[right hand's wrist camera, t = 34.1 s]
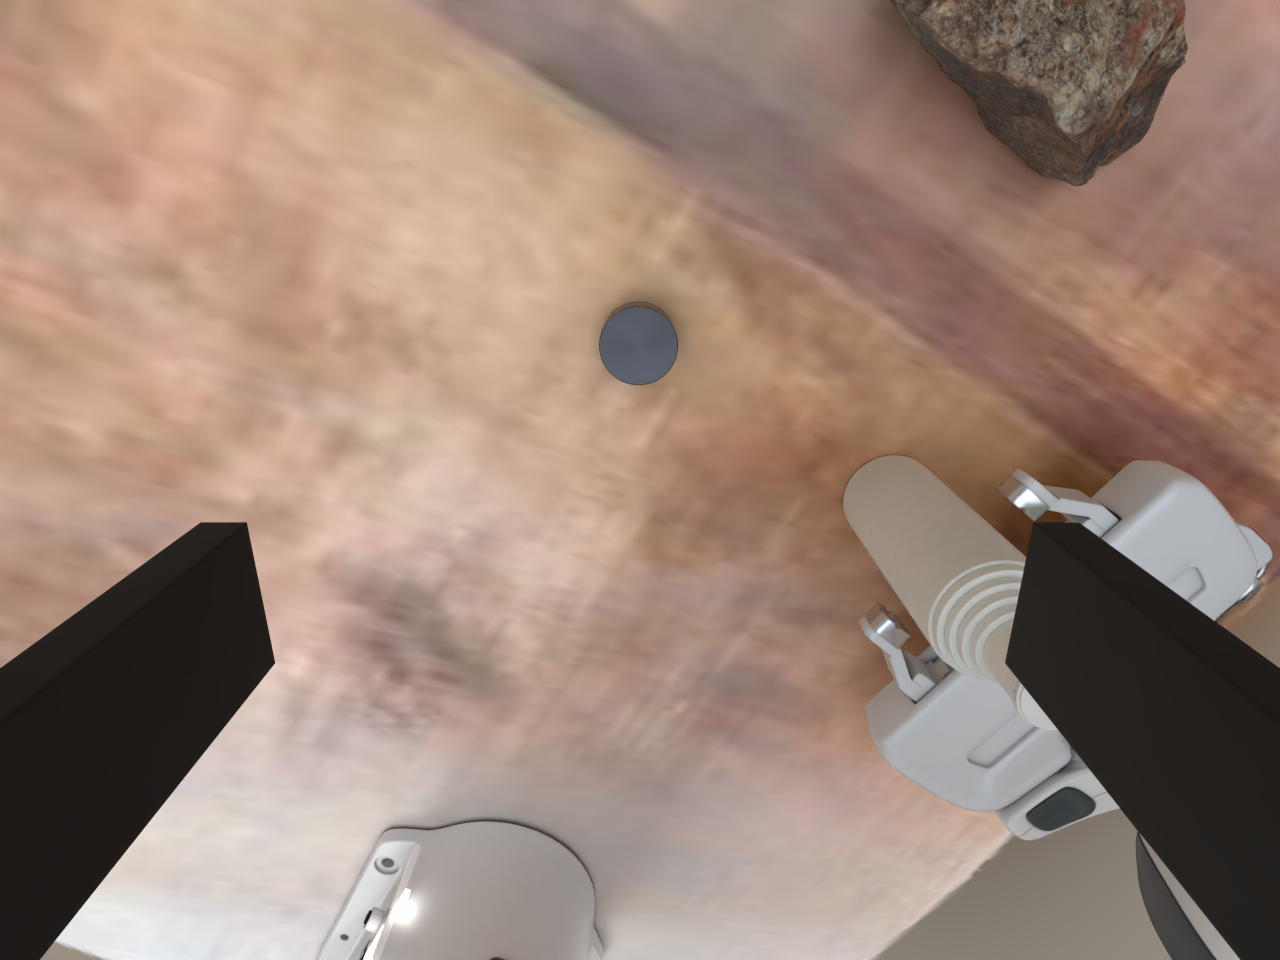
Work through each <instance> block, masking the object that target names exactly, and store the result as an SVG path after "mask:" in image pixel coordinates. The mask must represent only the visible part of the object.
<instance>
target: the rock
mask: <svg viewBox="0 0 1280 960" xmlns="http://www.w3.org/2000/svg"><path fill="white" fill-rule="evenodd" d="M890 1H891V2H892V3H893V5H894V6H895V7H896V8H897V10H898V11H899V13H900V14H901V16H902V17H903V19H904V20H905V21H906V23H907V25H908V28H909V29H910V31H911V33H912V34H913V35H914V36H915V37H917V38H918V39H919V41H920V42H921V44H922V45H923V47H924V48H925V50H926V51H927V52H929V53H930V54H931V55H932V56H933V58H934V59H935V60H936V61H937V63H938V65H939V67H940V69H941V71H943V72H944V73H945V74H947V76H948V77H949V79H950V80H951V81H953V82H955V83H956V84H958V85H959V86H960V87H962V88H963V89H964V90H965V91H966V93H967V94H968V95H969V96H970V97H971V98H973V99H974V100H975V101H976V102H977V105H978V106H979V115H980V116H981V117H982V120H983V123H984V125H985V127H986V129H987V130H988V131H989V132H991V133H992V134H993V135H994V136H995V137H996V138H998V139H999V140H1000V141H1002V142H1003V143H1005V144H1006V145H1007V146H1008V147H1010V148H1011V149H1012V150H1013V151H1014V152H1015V153H1017V154H1018V155H1020V156H1021V157H1022V158H1023V159H1024V160H1025V162H1026V164H1027V165H1029V166H1030V167H1031V168H1032V169H1034V170H1035V171H1036V172H1037V173H1039V174H1040V175H1041V176H1044V177H1048V178H1053V179H1057V180H1061V181H1065V182H1068V183H1070V184H1071V185H1073V186H1081V185H1083V184H1086V183H1087V182H1088V180H1089V179H1091V178H1092V177H1093V176H1094V174H1095V171H1096V169H1097V167H1099V166H1104V165H1109V164H1110V163H1111V162H1112V161H1113V160H1115V159H1116V158H1117V157H1119V156H1120V155H1121V154H1123V153H1124V152H1126V151H1127V150H1128V149H1130V148H1131V147H1133V146H1134V145H1136V144H1137V143H1139V142H1140V141H1141V140H1142V139H1143V137H1144V136H1145V134H1146V133H1147V131H1148V130H1149V128H1150V126H1151V124H1152V121H1153V119H1154V114H1155V112H1156V109H1157V107H1158V105H1159V102H1160V100H1161V99H1162V97H1163V95H1164V91H1165V89H1166V87H1167V85H1168V83H1169V80H1170V78H1171V77H1172V75H1173V74H1174V73H1175V72H1176V70H1177V69H1178V68H1180V67H1181V66H1182V65H1183V64H1184V63H1185V59H1184V58H1185V56H1184V55H1185V54H1186V52H1187V50H1188V47H1187V42H1185V41H1186V39H1185V33H1184V27H1183V25H1184V18H1185V9H1186V8H1185V0H890Z"/></svg>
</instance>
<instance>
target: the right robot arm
mask: <svg viewBox="0 0 1280 960" xmlns="http://www.w3.org/2000/svg"><path fill="white" fill-rule="evenodd" d="M274 664H275V660H274V655H273V650H272V645H271V640H270V635H269V630H268V625H267V620H266V615H265V610H264V606H263V601H262V596H261V591H260V586H259V581H258V576H257V571H256V566H255V561H254V556H253V551H252V546H251V541H250V537H249V532H248V527H247V523H199V524H198V525H197V526H195V527H194V528H193V529H191V530H190V531H188V532H187V533H186V534H184V535H183V536H182V537H180V538H179V539H177V540H176V541H175V542H173V543H172V544H171V545H169V546H168V547H166V548H165V549H164V550H162V551H161V552H160V553H158V554H157V555H155V556H154V557H153V558H151V559H150V560H149V561H147V562H146V563H144V564H143V565H142V566H140V567H139V568H138V569H136V570H135V571H133V572H132V573H131V574H129V575H128V576H127V577H125V578H124V579H122V580H121V581H120V582H118V583H117V584H116V585H114V586H113V587H111V588H110V589H109V590H107V591H106V592H105V593H103V594H102V595H100V596H99V597H98V598H96V599H95V600H94V601H92V602H91V603H89V604H88V605H87V606H85V607H84V608H83V609H81V610H80V611H78V612H77V613H76V614H74V615H73V616H72V617H70V618H69V619H67V620H66V621H65V622H63V623H62V624H61V625H59V626H58V627H56V628H55V629H54V630H52V631H51V632H50V633H48V634H47V635H45V636H44V637H43V638H41V639H40V640H39V641H37V642H36V643H34V644H33V645H32V646H30V647H29V648H28V649H26V650H25V651H23V652H22V653H21V654H19V655H18V656H17V657H15V658H14V659H12V660H11V661H10V662H8V663H7V664H6V665H4V666H3V667H1V668H0V960H40V959H41V958H42V956H43V955H44V954H45V953H46V951H47V950H48V949H49V947H50V946H51V945H52V944H53V942H54V941H55V940H56V939H57V937H58V936H59V935H60V934H61V932H62V931H63V930H64V929H65V927H66V926H67V925H68V924H69V922H70V921H71V920H72V919H73V917H74V916H75V915H76V913H77V912H78V911H79V910H80V908H81V907H82V906H83V905H84V903H85V902H86V901H87V900H88V898H89V897H90V896H91V895H92V893H93V892H94V891H95V890H96V888H97V887H98V886H99V884H100V883H101V882H102V881H103V879H104V878H105V877H106V876H107V874H108V873H109V872H110V871H111V869H112V868H113V867H114V866H115V864H116V863H117V862H118V861H119V859H120V858H121V857H122V855H123V854H124V853H125V852H126V850H127V849H128V848H129V847H130V845H131V844H132V843H133V842H134V840H135V839H136V838H137V837H138V835H139V834H140V833H141V832H142V830H143V829H144V828H145V826H146V825H147V824H148V823H149V821H150V820H151V819H152V818H153V816H154V815H155V814H156V813H157V811H158V810H159V809H160V808H161V806H162V805H163V804H164V803H165V801H166V800H167V799H168V797H169V796H170V795H171V794H172V792H173V791H174V790H175V789H176V787H177V786H178V785H179V784H180V782H181V781H182V780H183V779H184V777H185V776H186V775H187V774H188V772H189V771H190V770H191V768H192V767H193V766H194V765H195V763H196V762H197V761H198V760H199V758H200V757H201V756H202V755H203V753H204V752H205V751H206V750H207V748H208V747H209V746H210V745H211V743H212V742H213V741H214V739H215V738H216V737H217V736H218V734H219V733H220V732H221V731H222V729H223V728H224V727H225V726H226V724H227V723H228V722H229V721H230V719H231V718H232V717H233V716H234V714H235V713H236V712H237V710H238V709H239V708H240V707H241V705H242V704H243V703H244V702H245V700H246V699H247V698H248V697H249V695H250V694H251V693H252V692H253V690H254V689H255V688H256V687H257V685H258V684H259V683H260V681H261V680H262V679H263V678H264V676H265V675H266V674H267V673H268V671H269V670H270V669H271V668H272V666H273V665H274ZM1005 664H1006V665H1007V666H1008V668H1009V669H1010V670H1011V671H1012V673H1013V674H1014V675H1015V676H1016V678H1017V679H1018V680H1019V681H1020V683H1021V684H1022V685H1023V687H1024V688H1025V689H1026V690H1027V692H1028V693H1029V694H1030V695H1031V697H1032V698H1033V699H1034V700H1035V702H1036V703H1037V704H1038V705H1039V707H1040V708H1041V709H1042V710H1043V712H1044V713H1045V714H1046V716H1047V717H1048V718H1049V719H1050V721H1051V722H1052V723H1053V724H1054V726H1055V727H1056V728H1057V729H1058V731H1059V732H1060V733H1061V734H1062V736H1063V737H1064V738H1065V739H1066V741H1067V742H1068V743H1069V745H1070V746H1071V747H1072V748H1073V750H1074V751H1075V752H1076V753H1077V755H1078V756H1079V757H1080V758H1081V760H1082V761H1083V762H1084V763H1085V765H1086V766H1087V767H1088V768H1089V770H1090V771H1091V772H1092V774H1093V775H1094V776H1095V777H1096V779H1097V780H1098V781H1099V782H1100V784H1101V785H1102V786H1103V787H1104V789H1105V790H1106V791H1107V792H1108V794H1109V795H1110V796H1111V797H1112V799H1113V800H1114V801H1115V803H1116V804H1117V805H1118V806H1119V808H1120V809H1121V810H1122V811H1123V813H1124V814H1125V815H1126V816H1127V818H1128V819H1129V820H1130V821H1131V823H1132V824H1133V825H1134V826H1135V828H1136V829H1137V830H1138V832H1139V833H1140V834H1141V835H1142V837H1143V838H1144V839H1145V840H1146V842H1147V843H1148V844H1149V845H1150V847H1151V848H1152V849H1153V850H1154V852H1155V853H1156V854H1157V855H1158V857H1159V858H1160V859H1161V861H1162V862H1163V863H1164V864H1165V866H1166V867H1167V868H1168V869H1169V871H1170V872H1171V873H1172V874H1173V876H1174V877H1175V878H1176V879H1177V881H1178V882H1179V883H1180V884H1181V886H1182V887H1183V888H1184V890H1185V891H1186V892H1187V893H1188V895H1189V896H1190V897H1191V898H1192V900H1193V901H1194V902H1195V903H1196V905H1197V906H1198V907H1199V908H1200V910H1201V911H1202V912H1203V913H1204V915H1205V916H1206V917H1207V919H1208V920H1209V921H1210V922H1211V924H1212V925H1213V926H1214V927H1215V929H1216V930H1217V931H1218V932H1219V934H1220V935H1221V936H1222V937H1223V939H1224V940H1225V941H1226V942H1227V944H1228V945H1229V946H1230V948H1231V949H1232V950H1233V951H1234V953H1235V954H1236V955H1237V956H1238V958H1239V959H1240V960H1280V668H1279V667H1277V666H1276V665H1274V664H1273V663H1272V662H1270V661H1269V660H1267V659H1266V658H1265V657H1263V656H1262V655H1261V654H1259V653H1258V652H1256V651H1255V650H1254V649H1252V648H1251V647H1250V646H1248V645H1247V644H1246V643H1244V642H1243V641H1241V640H1240V639H1239V638H1237V637H1236V636H1235V635H1233V634H1232V633H1230V632H1229V631H1228V630H1226V629H1225V628H1224V627H1222V626H1221V625H1219V624H1218V623H1217V622H1215V621H1214V620H1213V619H1211V618H1210V617H1208V616H1207V615H1206V614H1204V613H1203V612H1202V611H1200V610H1199V609H1197V608H1196V607H1195V606H1193V605H1192V604H1191V603H1189V602H1188V601H1186V600H1185V599H1184V598H1182V597H1181V596H1180V595H1178V594H1177V593H1175V592H1174V591H1173V590H1171V589H1170V588H1169V587H1167V586H1166V585H1164V584H1163V583H1162V582H1160V581H1159V580H1158V579H1156V578H1155V577H1153V576H1152V575H1151V574H1149V573H1148V572H1147V571H1145V570H1144V569H1142V568H1141V567H1140V566H1138V565H1137V564H1136V563H1134V562H1133V561H1131V560H1130V559H1129V558H1127V557H1126V556H1125V555H1123V554H1122V553H1120V552H1119V551H1118V550H1116V549H1115V548H1114V547H1112V546H1111V545H1109V544H1108V543H1107V542H1105V541H1104V540H1103V539H1101V538H1100V537H1098V536H1097V535H1096V534H1094V533H1093V532H1092V531H1090V530H1089V529H1087V528H1086V527H1085V526H1083V525H1082V524H1081V523H1033V527H1032V532H1031V537H1030V541H1029V546H1028V551H1027V556H1026V561H1025V566H1024V571H1023V576H1022V581H1021V586H1020V591H1019V596H1018V601H1017V606H1016V610H1015V615H1014V620H1013V625H1012V630H1011V635H1010V640H1009V645H1008V650H1007V655H1006V660H1005Z"/></svg>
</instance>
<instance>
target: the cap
mask: <svg viewBox="0 0 1280 960" xmlns="http://www.w3.org/2000/svg"><path fill="white" fill-rule="evenodd" d="M599 350H600V355H601V359H602V361H603V363H604V365H605V367H606V368H607V370H608V371H609V372H610V373H611V374H612V375H613V376H614V377H616V378H617V379H619V380H620V381H622V382H625V383H628V384H632V385H645V384H649V383H652V382H655V381H657V380H659V379H660V378H662V377H663V376H664V375H665V374H666V373H667V372H668V371H669V370H670V369H671V367H672V365H673V364H674V361H675V359H676V355H677V350H678V342H677V336H676V332H675V329H674V326H673V324H672V322H671V320H670V318H669V317H668V316H667V315H666V314H665V313H664V312H663V311H662V310H661V309H660V308H658V307H656V306H654V305H652V304H649V303H644V302H633V303H628V304H625V305H623V306H621V307H619V308H617V309H616V310H615V311H614V312H613V313H612V314H611V315H610V316H609V317H608V319H607V320H606V322H605V324H604V326H603V329H602V332H601V336H600V342H599Z"/></svg>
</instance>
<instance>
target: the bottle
mask: <svg viewBox="0 0 1280 960" xmlns="http://www.w3.org/2000/svg"><path fill="white" fill-rule="evenodd" d="M843 509H844V514H845V517H846V519H847V521H848V523H849V524H850V526H851V527H852V529H853V530H854V532H855V533H856V535H857V536H858V538H859V539H860V541H861V542H862V544H863V545H864V547H865V548H866V550H867V551H868V553H869V554H870V555H871V557H872V558H873V560H874V561H875V563H876V564H877V566H878V567H879V569H880V570H881V572H882V573H883V575H884V576H885V578H886V579H887V581H888V582H889V584H890V585H891V587H892V588H893V590H894V591H895V593H896V594H897V596H898V597H899V599H900V600H901V602H902V603H903V605H904V606H905V608H906V609H907V611H908V612H909V614H910V615H911V617H912V618H913V620H914V621H915V622H916V624H917V625H918V627H919V628H920V630H921V631H922V633H923V634H924V636H925V637H926V639H927V640H928V642H929V643H930V645H931V646H932V648H933V649H934V651H935V652H936V653H937V655H938V656H939V657H940V658H941V659H942V660H943V661H944V662H945V663H947V664H948V665H950V666H951V667H953V668H954V669H955V670H957V671H958V672H960V673H962V674H964V675H967V676H969V677H973V678H977V679H981V680H985V681H990V682H994V683H998V684H1000V685H1001V687H1002V688H1003V689H1004V691H1005V692H1006V693H1007V695H1008V696H1009V697H1010V699H1011V700H1012V702H1013V705H1014V708H1015V709H1016V711H1017V712H1018V713H1019V715H1021V717H1022V718H1024V719H1026V720H1027V721H1029V722H1030V723H1031V724H1033V725H1035V726H1036V727H1039V728H1042V729H1046V730H1058V729H1057V728H1056V727H1055V726H1054V724H1053V723H1052V722H1051V721H1050V719H1049V718H1048V717H1047V716H1046V714H1045V713H1044V712H1043V710H1042V709H1041V708H1040V707H1039V705H1038V704H1037V703H1036V702H1035V700H1034V699H1033V698H1032V697H1031V695H1030V694H1029V693H1028V692H1027V690H1026V689H1025V688H1024V687H1023V685H1022V684H1021V683H1020V681H1019V680H1018V679H1017V678H1016V676H1015V675H1014V674H1013V673H1012V671H1011V670H1010V669H1009V668H1008V666H1007V665H1006V664H1005V660H1006V655H1007V650H1008V645H1009V640H1010V635H1011V630H1012V625H1013V620H1014V615H1015V610H1016V606H1017V601H1018V596H1019V591H1020V586H1021V581H1022V576H1023V571H1024V566H1025V561H1026V556H1024V555H1023V554H1022V553H1021V552H1020V551H1019V550H1018V549H1017V548H1015V547H1014V546H1013V545H1012V544H1011V543H1010V542H1009V541H1008V540H1007V539H1005V538H1004V537H1003V536H1002V535H1001V534H1000V533H999V532H998V531H996V530H995V529H994V528H993V527H992V526H991V525H990V524H989V523H988V522H986V521H985V520H984V519H983V518H982V517H981V516H980V515H979V514H977V513H976V512H975V511H974V510H973V509H972V508H971V507H970V506H969V505H967V504H966V503H965V502H964V501H963V500H962V499H961V498H960V497H958V496H957V495H956V494H955V493H954V492H953V491H952V490H951V489H949V488H948V487H947V486H946V485H945V484H944V483H943V482H942V481H941V480H939V479H938V478H937V477H936V476H935V475H934V474H933V473H932V472H930V471H929V470H928V469H927V468H926V467H925V466H924V465H922V464H921V463H920V462H918V461H917V460H915V459H912V458H910V457H906V456H901V455H889V456H883V457H879V458H877V459H874V460H872V461H870V462H868V463H866V464H865V465H863V466H862V467H861V468H860V469H859V470H857V472H856V473H855V474H854V475H853V476H852V478H851V479H850V481H849V482H848V484H847V487H846V489H845V492H844V497H843Z"/></svg>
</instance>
